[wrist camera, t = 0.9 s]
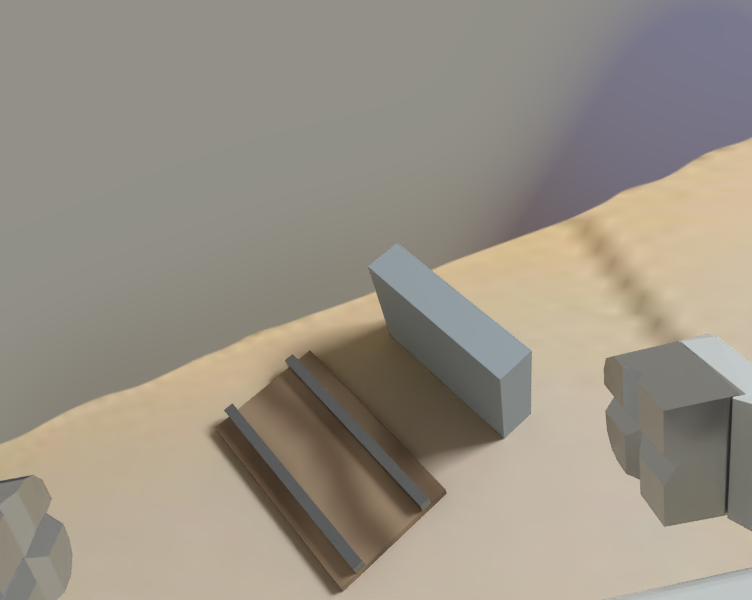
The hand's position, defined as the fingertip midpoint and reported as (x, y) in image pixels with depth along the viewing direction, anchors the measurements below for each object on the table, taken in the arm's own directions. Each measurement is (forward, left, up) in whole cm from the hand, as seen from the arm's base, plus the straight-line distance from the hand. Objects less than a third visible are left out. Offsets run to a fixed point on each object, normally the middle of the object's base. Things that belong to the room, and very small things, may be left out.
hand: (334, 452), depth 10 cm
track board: (+3, +24, -51) cm, 56 cm away
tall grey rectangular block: (+18, +22, -51) cm, 59 cm away
